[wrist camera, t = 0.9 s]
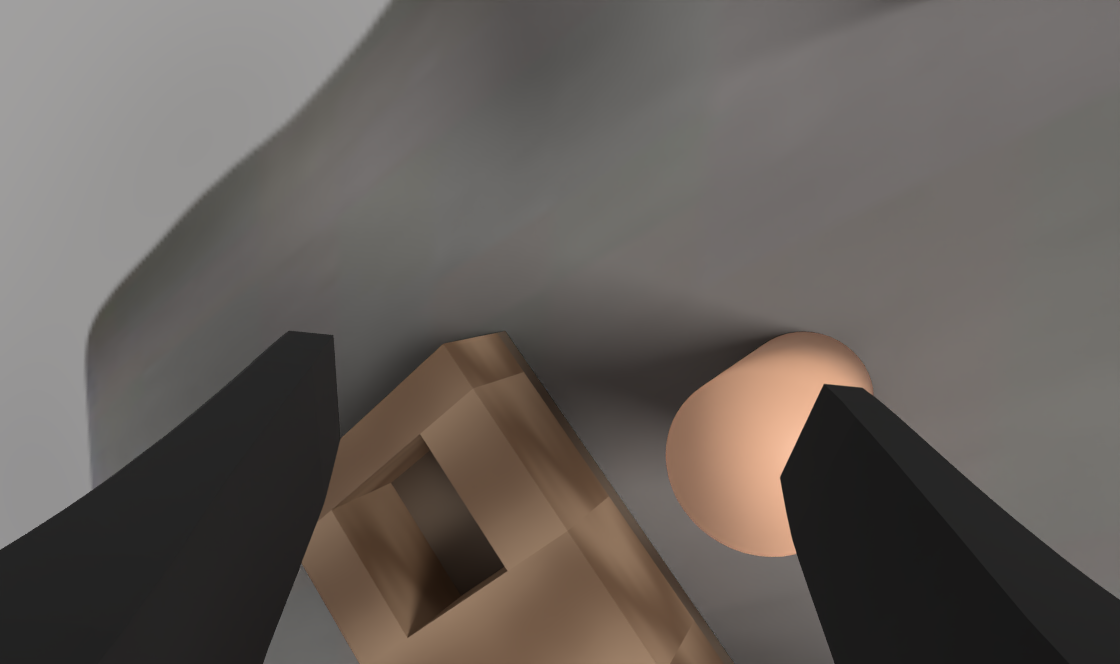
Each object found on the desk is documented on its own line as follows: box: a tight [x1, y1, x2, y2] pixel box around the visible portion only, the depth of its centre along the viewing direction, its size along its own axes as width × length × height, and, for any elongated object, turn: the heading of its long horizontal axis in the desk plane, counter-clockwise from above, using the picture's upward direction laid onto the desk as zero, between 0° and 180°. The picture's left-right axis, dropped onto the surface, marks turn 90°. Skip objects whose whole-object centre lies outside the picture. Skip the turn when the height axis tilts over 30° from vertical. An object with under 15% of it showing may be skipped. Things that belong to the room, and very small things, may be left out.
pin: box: [666, 332, 873, 557], centre depth 18 cm, size 4×4×8 cm
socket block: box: [302, 331, 734, 664], centre depth 25 cm, size 18×11×4 cm, turn 39°
